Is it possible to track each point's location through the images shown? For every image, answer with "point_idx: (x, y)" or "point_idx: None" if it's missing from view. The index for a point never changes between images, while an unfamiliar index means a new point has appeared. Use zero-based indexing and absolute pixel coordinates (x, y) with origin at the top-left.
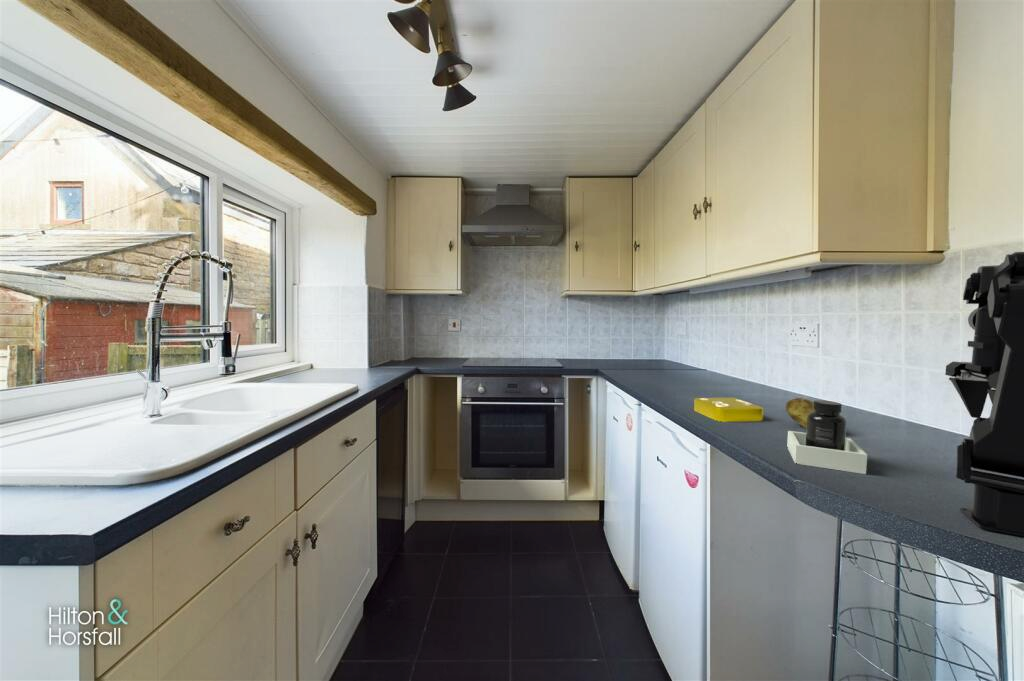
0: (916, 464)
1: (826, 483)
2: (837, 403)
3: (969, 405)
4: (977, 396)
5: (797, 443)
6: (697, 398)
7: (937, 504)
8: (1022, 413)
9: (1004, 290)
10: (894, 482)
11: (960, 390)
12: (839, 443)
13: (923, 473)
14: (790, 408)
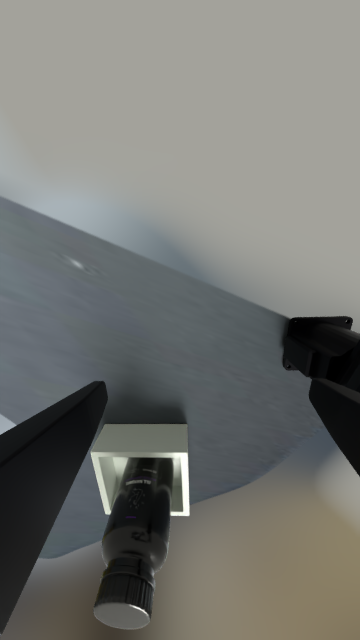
0: (88, 351)
1: (248, 465)
2: (122, 607)
3: (81, 457)
4: (17, 505)
5: (177, 513)
6: None
7: (267, 381)
8: None
9: None
10: (203, 402)
11: (5, 626)
12: (166, 484)
13: (135, 356)
14: None
